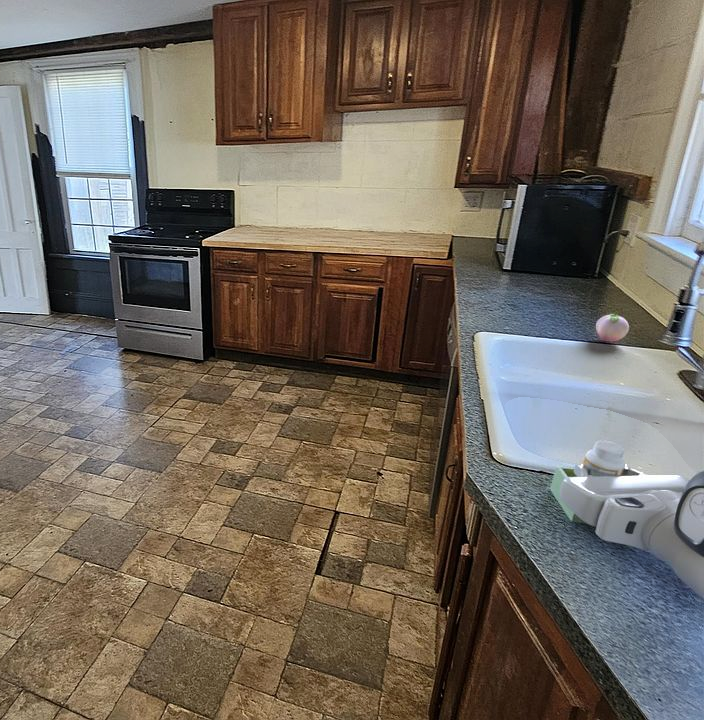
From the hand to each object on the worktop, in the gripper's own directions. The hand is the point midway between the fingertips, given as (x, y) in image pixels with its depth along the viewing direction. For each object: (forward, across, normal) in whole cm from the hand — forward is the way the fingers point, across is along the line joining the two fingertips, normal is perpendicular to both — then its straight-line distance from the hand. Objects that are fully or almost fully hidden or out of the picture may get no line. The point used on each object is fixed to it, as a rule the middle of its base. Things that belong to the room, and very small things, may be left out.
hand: (598, 467), depth 90 cm
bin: (-1, 0, +8) cm, 8 cm away
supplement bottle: (-1, 0, +6) cm, 6 cm away
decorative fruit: (+80, -62, +8) cm, 102 cm away
